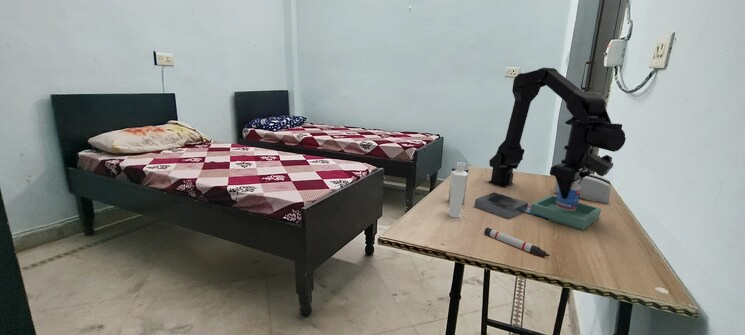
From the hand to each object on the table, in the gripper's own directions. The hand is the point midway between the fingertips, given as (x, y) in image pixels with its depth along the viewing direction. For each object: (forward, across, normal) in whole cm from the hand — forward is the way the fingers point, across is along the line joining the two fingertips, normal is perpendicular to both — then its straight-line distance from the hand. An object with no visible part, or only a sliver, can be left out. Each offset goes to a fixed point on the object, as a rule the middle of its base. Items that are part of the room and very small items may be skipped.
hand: (568, 196), depth 99 cm
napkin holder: (+6, +23, +3) cm, 24 cm away
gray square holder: (+6, -11, +14) cm, 19 cm away
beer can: (+6, -18, +25) cm, 31 cm away
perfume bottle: (+6, -27, +19) cm, 34 cm away
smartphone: (+6, -4, +9) cm, 12 cm away
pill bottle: (+4, 0, 0) cm, 4 cm away
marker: (+6, -30, 0) cm, 31 cm away
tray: (+6, 0, 0) cm, 6 cm away
